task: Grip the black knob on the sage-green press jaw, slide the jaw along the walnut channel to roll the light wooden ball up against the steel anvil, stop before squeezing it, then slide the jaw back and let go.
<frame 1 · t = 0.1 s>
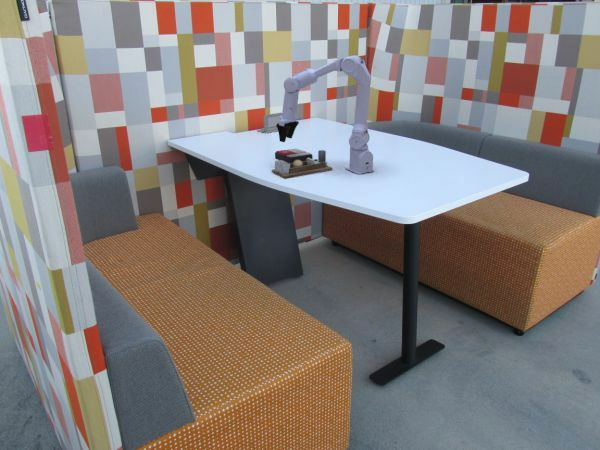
hand: (285, 139, 210), 11 cm above the table, tool pointing down, fingers open, 7 cm apart
handheld gaming console: (270, 131, 282), on the table
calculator: (293, 161, 221), on the table
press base: (302, 171, 204), on the table
ball: (297, 164, 202), point 3 cm above the table, touching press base
anvil: (282, 174, 200), resting on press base
jaw: (317, 158, 206), point 4 cm above the table, slide at 0.0 cm
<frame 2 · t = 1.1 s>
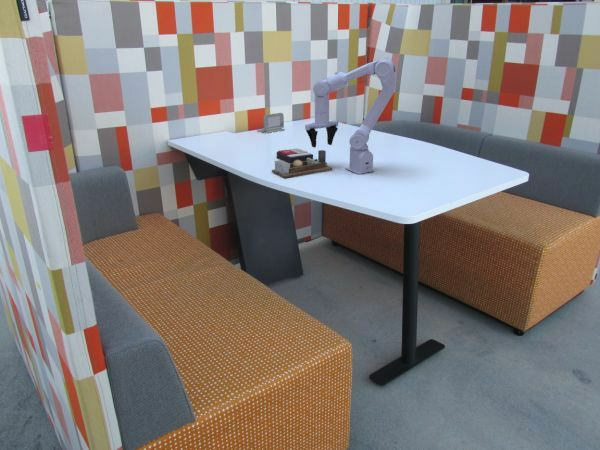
hand: (321, 145, 205), 9 cm above the table, tool pointing down, fingers open, 7 cm apart
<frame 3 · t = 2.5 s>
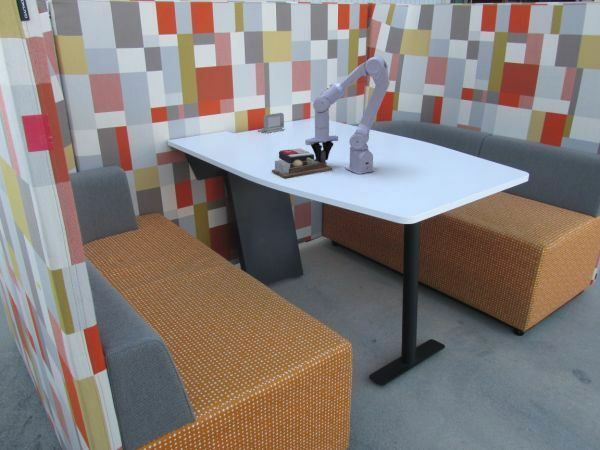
hand: (322, 160, 207), 3 cm above the table, tool pointing down, fingers closed on jaw, 3 cm apart
jaw: (317, 158, 206), point 4 cm above the table, slide at 0.0 cm, touching gripper
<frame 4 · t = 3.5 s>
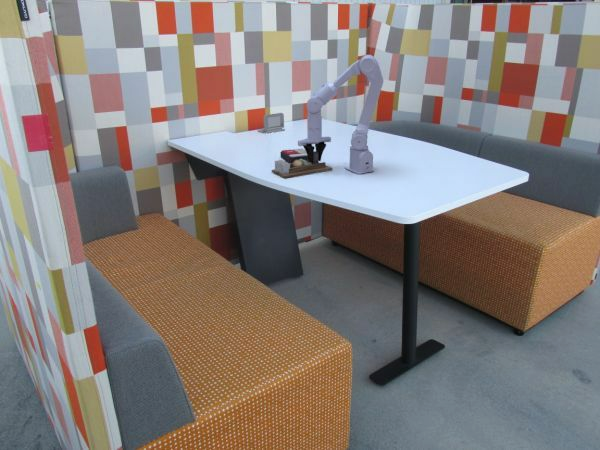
hand: (314, 161, 205), 3 cm above the table, tool pointing down, fingers closed on jaw, 3 cm apart
jaw: (310, 160, 204), point 4 cm above the table, slide at 3.5 cm, touching gripper
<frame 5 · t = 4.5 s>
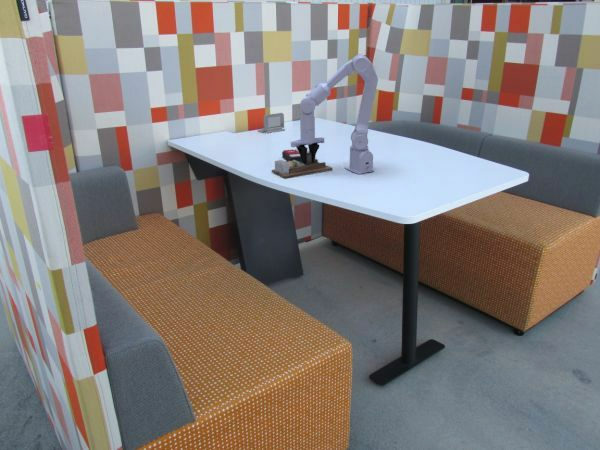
hand: (307, 162, 204), 3 cm above the table, tool pointing down, fingers closed on jaw, 3 cm apart
ball: (290, 166, 200), point 3 cm above the table, tilted 97°, touching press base
jaw: (303, 161, 202), point 4 cm above the table, slide at 6.7 cm, touching gripper
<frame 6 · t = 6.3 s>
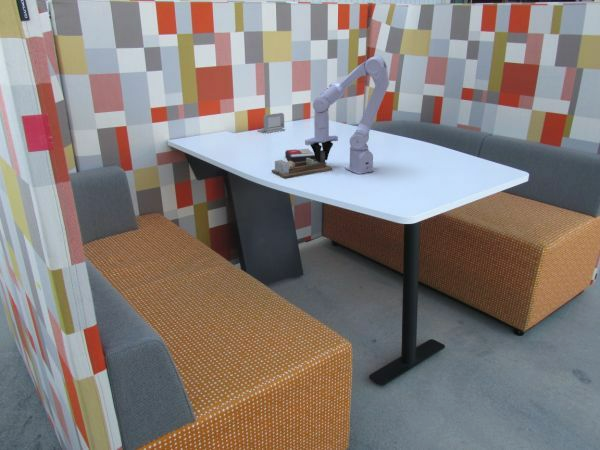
hand: (321, 160, 207), 3 cm above the table, tool pointing down, fingers closed on jaw, 3 cm apart
jaw: (316, 158, 205), point 4 cm above the table, slide at 0.2 cm, touching gripper
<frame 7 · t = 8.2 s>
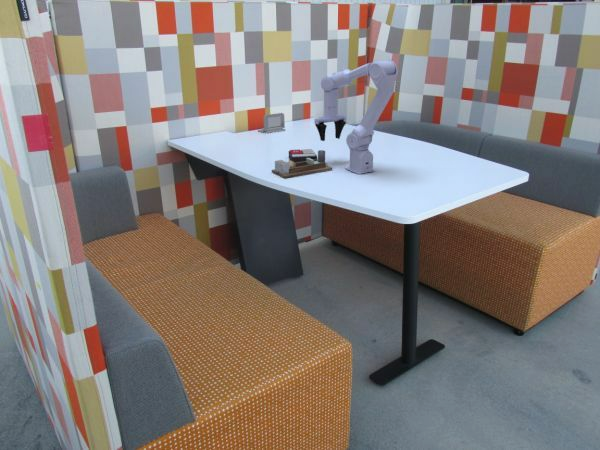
hand: (330, 139, 210), 10 cm above the table, tool pointing down, fingers open, 7 cm apart
ball: (290, 165, 200), point 3 cm above the table, tilted 93°, touching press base
jaw: (316, 158, 205), point 4 cm above the table, slide at 0.2 cm
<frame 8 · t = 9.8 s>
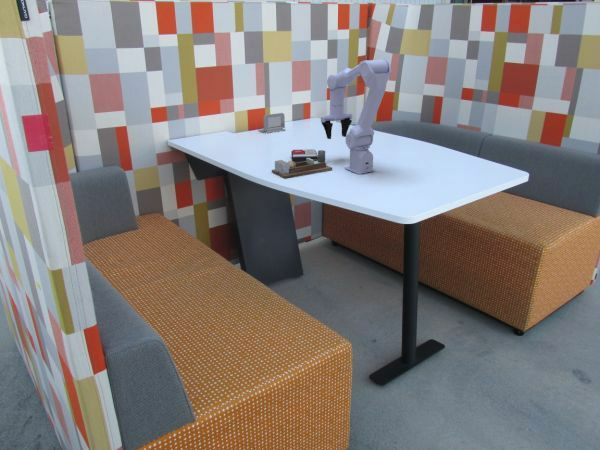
hand: (336, 137, 213), 10 cm above the table, tool pointing down, fingers open, 7 cm apart
at the end: ball 0.4 cm from the target spot, point 3.0 cm above the table; jaw slide at 0.2 cm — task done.
